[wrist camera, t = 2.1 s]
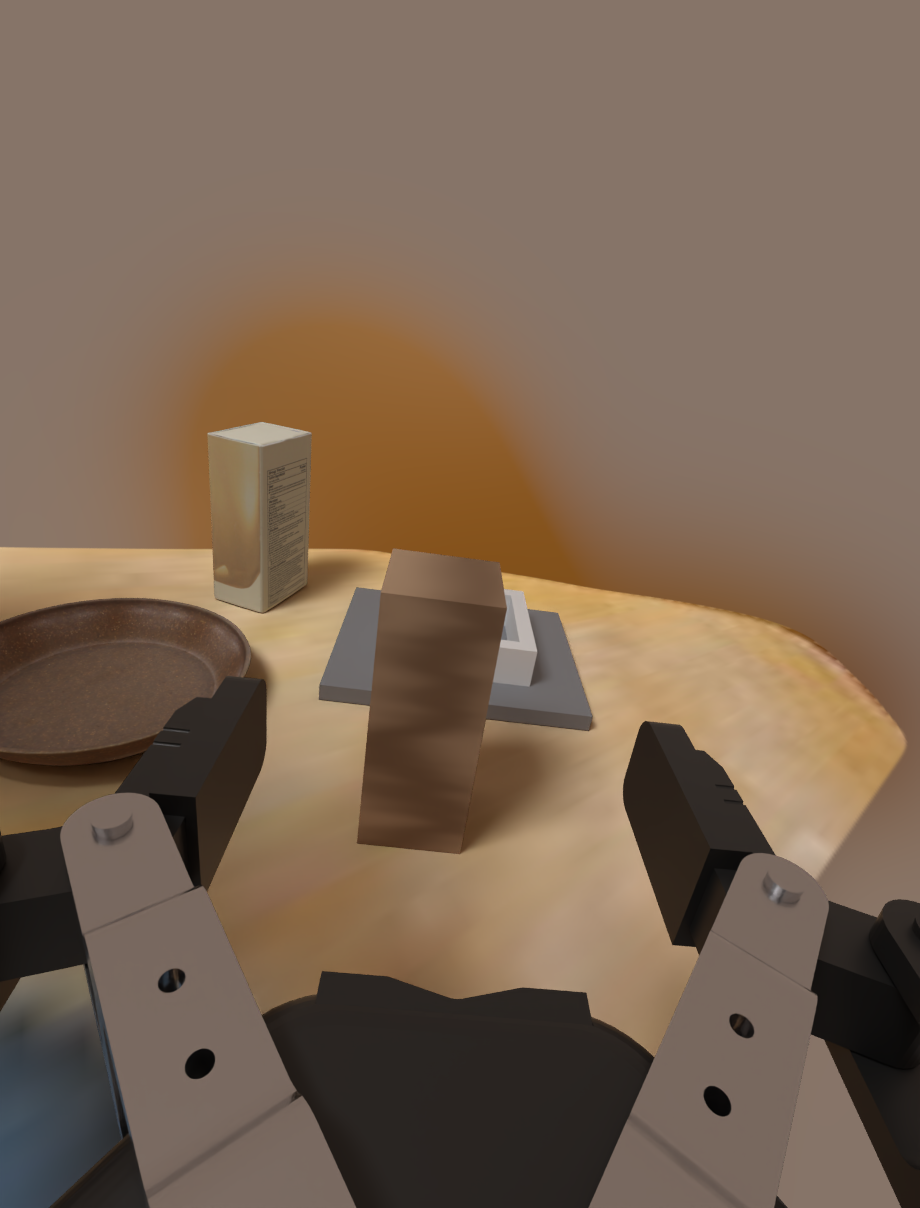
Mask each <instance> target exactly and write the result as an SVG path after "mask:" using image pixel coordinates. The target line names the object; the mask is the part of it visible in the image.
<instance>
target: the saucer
mask: <svg viewBox="0 0 920 1208" xmlns="http://www.w3.org/2000/svg"><path fill="white" fill-rule="evenodd" d="M250 661H251V650H250V646H249V643H248V641H247V639H246V637H245V635H244V634H243V633H242V632H241V630H240V629H239V628H238V627H237V626H236V625H235V624H233V623H232V622H231V621H229V620H228V619H226V618H224V617H223V616H220V615H218V614H216V613H214V612H212V611H209V610H207V609H204V608H201V607H198V606H193V605H189V604H185V603H180V602H174V601H168V600H159V599H147V598H112V599H98V600H89V601H80V602H74V603H67V604H62V605H57V606H52V607H48V608H44V609H39V610H36V611H32V612H28V613H25V614H21V615H18V616H15V617H12V618H9V619H6V620H4V621H1V622H0V758H1V759H5V760H10V761H16V762H23V763H30V764H40V765H59V766H67V765H84V764H94V763H100V762H107V761H112V760H116V759H121V758H125V757H129V756H133V755H136V754H139V753H142V752H145V751H146V750H147V749H148V747H149V746H150V745H153V741H154V739H155V738H156V737H157V735H158V734H159V732H160V731H161V730H162V731H163V727H164V726H165V724H166V723H167V722H168V720H169V719H170V717H171V716H172V715H173V713H174V712H175V711H176V710H177V709H179V708H180V707H182V706H183V705H185V704H186V703H188V702H190V701H191V700H193V699H194V698H196V697H203V698H212V697H213V695H214V694H215V692H216V691H217V689H218V688H219V686H220V685H221V683H222V682H223V680H224V679H225V677H227V676H236V677H244V676H245V675H246V673H247V670H248V668H249V665H250Z"/></svg>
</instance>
